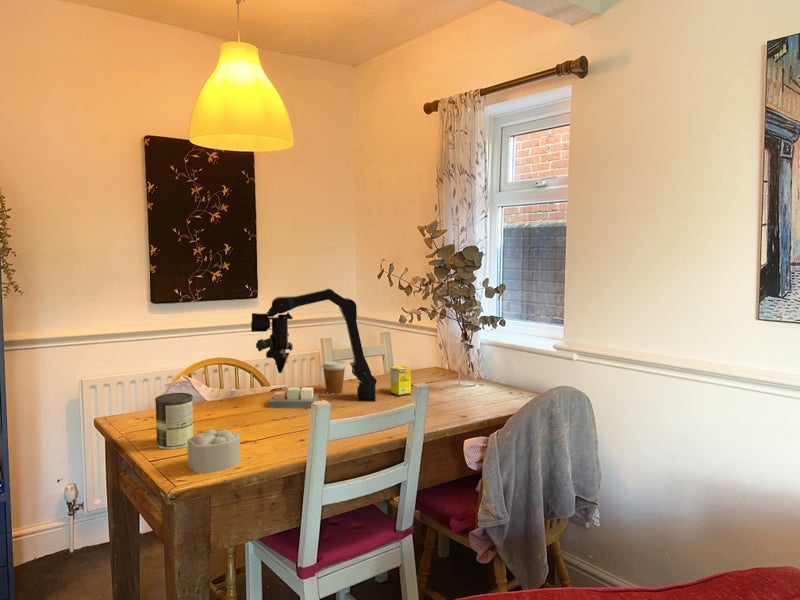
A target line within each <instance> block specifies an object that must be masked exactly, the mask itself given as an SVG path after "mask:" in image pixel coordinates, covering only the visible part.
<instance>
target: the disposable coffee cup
mask: <svg viewBox="0 0 800 600" xmlns="http://www.w3.org/2000/svg"><path fill="white" fill-rule="evenodd" d="M321 367H322V369H323V375H324V384H325V390H326V393H327V392H328V393H327V394H330V393H338V394H341V393H342V392H343V387H344V377H345V369H346V368H347V365H346V362H344V361H343V360H342V361H341V360H328V361H324V362H323V364H322V366H321ZM340 392H341V393H340Z"/></svg>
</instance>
